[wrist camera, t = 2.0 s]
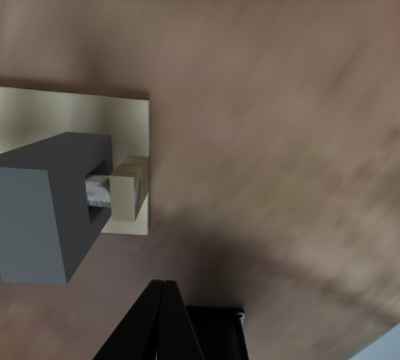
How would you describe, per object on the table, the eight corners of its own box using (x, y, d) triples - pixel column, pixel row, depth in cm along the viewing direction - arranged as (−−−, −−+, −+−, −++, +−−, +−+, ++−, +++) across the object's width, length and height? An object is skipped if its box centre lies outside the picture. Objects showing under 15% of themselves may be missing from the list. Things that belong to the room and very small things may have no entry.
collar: (110, 135, 16) (46, 170, 9) (114, 210, 18) (66, 284, 11) (66, 131, 16) (-34, 164, 9) (76, 207, 18) (3, 281, 11)
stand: (150, 100, 16) (132, 104, 11) (149, 229, 20) (135, 271, 16) (-122, 75, 15) (-262, 68, 10) (-65, 217, 19) (-148, 258, 14)
